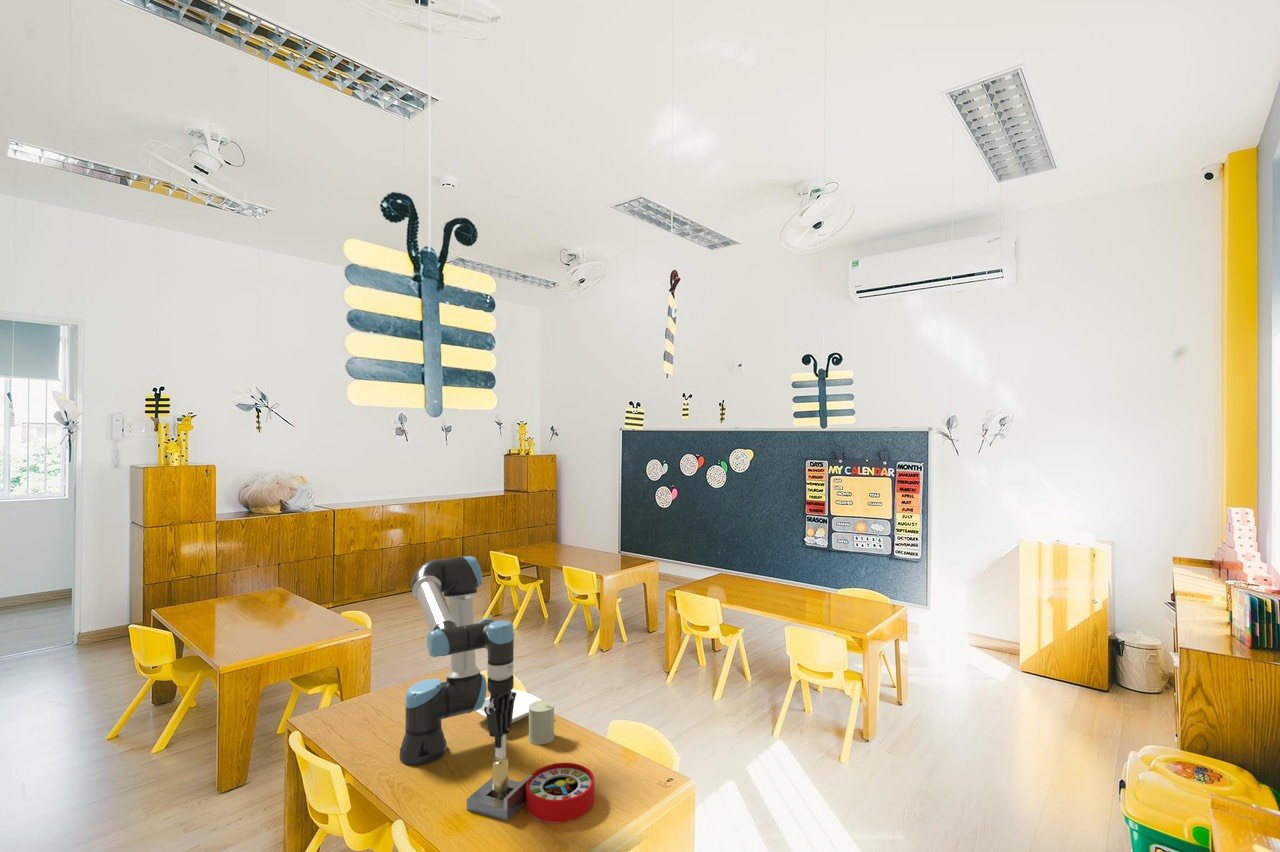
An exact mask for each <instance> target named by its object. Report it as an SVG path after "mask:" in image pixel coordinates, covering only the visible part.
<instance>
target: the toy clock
mask: <svg viewBox="0 0 1280 852" xmlns="http://www.w3.org/2000/svg"><path fill="white" fill-rule="evenodd" d="M530 775H533V780H532V777H531V778H530V779H528V780H527V782H526V803H525V808H526V811H527V813H528V814H529V816H531V817H532V818H534V819H535V820H538V821H540V822H545V823H550V824H561V823H567V822H571V821H574V820H577V819H579V818H581V817H583V816H584V815H586V814H587V813H588V812H589V811H591V810H592V808H593V806H594V803H595V776H594V773H593V772H592V771H591V770H590V769H589V768H588V767H586V766H584V765H582V764H579V763H575V762H557V763H551V764H547V765H545V766H542V767H539V768H538V769H536V770H534V771H533V772H532V773H531V774H530ZM591 807H592V808H591ZM585 813H586V814H585Z"/></svg>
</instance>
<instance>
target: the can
mask: <svg viewBox="0 0 1280 852" xmlns="http://www.w3.org/2000/svg"><path fill="white" fill-rule="evenodd" d="M554 740H555V704H554V702H553V701H551V700H546V699H545V700H544V699H541V701H536V702H533V703H531V704H530V705H529V715H528V742H530V743H531V744H532V745H537V746H539V745H540V746H542V745H547V744H549V743H551V742H552V741H554Z"/></svg>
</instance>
